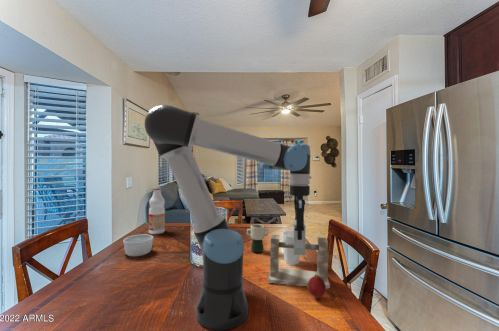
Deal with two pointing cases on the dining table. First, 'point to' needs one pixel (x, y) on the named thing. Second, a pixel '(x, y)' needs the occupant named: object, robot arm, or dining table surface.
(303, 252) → the grey u-shaped block
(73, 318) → the dining table surface
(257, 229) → the character mug
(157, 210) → the fruit juice
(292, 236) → the foam cup
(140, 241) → the ramekin
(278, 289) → the dining table surface
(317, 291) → the onion
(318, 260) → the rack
